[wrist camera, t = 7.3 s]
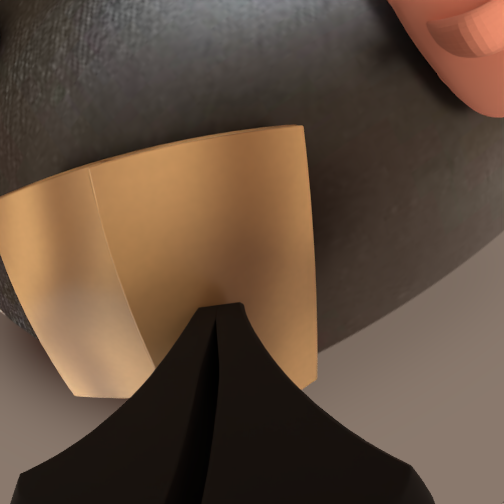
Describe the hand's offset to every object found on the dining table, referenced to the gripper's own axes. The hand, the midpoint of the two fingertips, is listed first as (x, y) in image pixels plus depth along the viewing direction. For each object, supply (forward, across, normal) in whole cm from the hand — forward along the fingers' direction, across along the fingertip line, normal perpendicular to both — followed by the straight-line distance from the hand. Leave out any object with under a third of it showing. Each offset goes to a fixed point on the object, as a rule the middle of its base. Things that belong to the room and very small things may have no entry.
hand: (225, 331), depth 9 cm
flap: (+1, 0, 0) cm, 1 cm away
